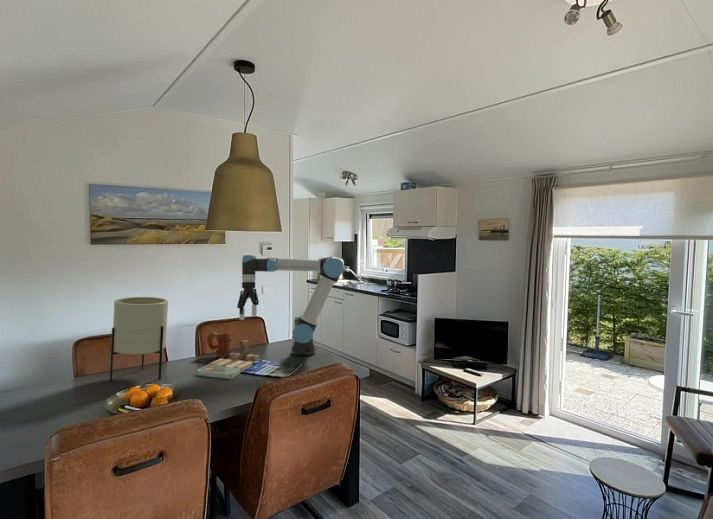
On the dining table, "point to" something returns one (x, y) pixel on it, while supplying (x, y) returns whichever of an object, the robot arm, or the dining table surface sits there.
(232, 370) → the tile
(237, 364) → the board
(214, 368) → the tile
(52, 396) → the dining table surface
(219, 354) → the reddish brown curved figurine
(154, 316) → the planter
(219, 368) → the tray
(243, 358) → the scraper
